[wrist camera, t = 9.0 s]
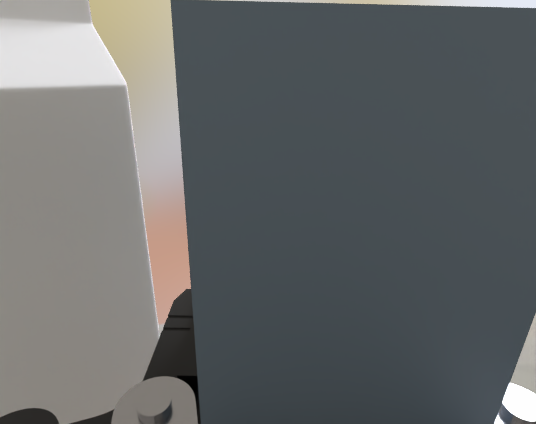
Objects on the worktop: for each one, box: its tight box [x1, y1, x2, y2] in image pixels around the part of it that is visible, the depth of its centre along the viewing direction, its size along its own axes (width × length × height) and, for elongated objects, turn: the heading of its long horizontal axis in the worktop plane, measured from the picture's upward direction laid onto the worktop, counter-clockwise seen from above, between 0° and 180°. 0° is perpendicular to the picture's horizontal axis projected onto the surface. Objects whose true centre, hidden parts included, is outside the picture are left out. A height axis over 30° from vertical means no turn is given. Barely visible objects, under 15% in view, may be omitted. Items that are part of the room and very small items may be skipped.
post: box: [171, 0, 536, 424], centre depth 8 cm, size 4×4×14 cm
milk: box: [0, 0, 160, 424], centre depth 14 cm, size 6×6×22 cm
